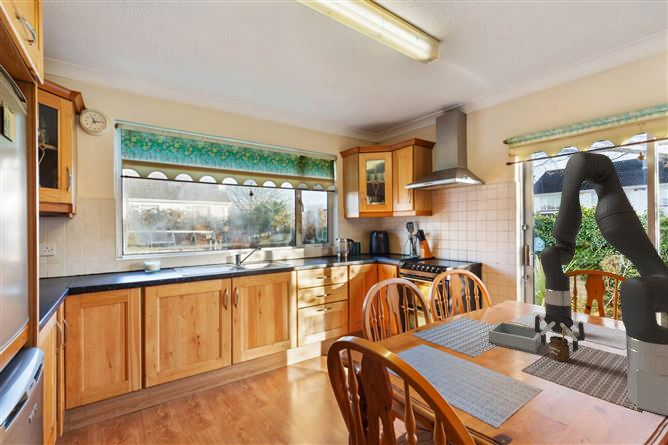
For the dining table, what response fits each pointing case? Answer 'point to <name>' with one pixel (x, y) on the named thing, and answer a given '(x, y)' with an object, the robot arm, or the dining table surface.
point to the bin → (515, 337)
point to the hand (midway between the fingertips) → (559, 348)
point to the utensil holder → (559, 347)
